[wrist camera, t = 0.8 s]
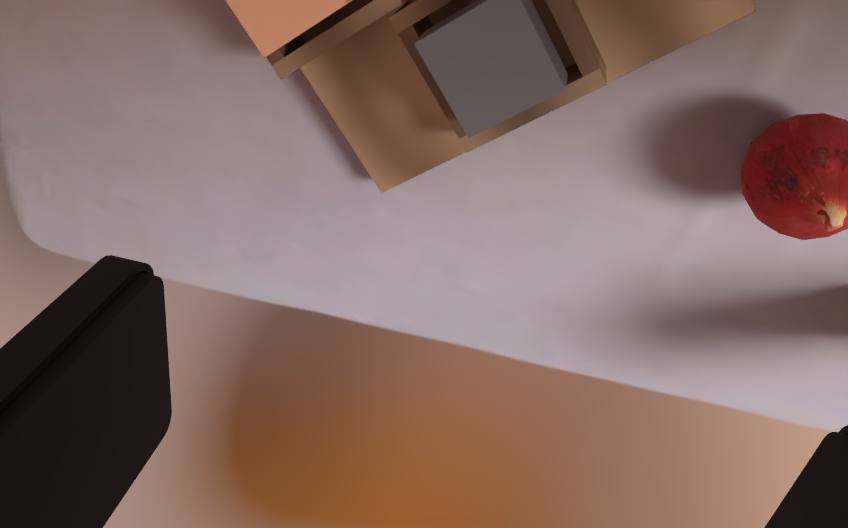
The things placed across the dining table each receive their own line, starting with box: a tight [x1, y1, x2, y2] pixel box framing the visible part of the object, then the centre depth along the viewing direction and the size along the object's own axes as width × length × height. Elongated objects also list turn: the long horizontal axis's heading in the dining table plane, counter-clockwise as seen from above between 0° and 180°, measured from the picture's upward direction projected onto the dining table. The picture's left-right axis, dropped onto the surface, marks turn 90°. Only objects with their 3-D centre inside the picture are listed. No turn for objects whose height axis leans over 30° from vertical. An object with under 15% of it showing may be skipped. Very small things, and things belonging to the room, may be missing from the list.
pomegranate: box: [741, 114, 848, 240], centre depth 32 cm, size 6×6×8 cm
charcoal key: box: [414, 0, 568, 138], centre depth 30 cm, size 5×5×2 cm
